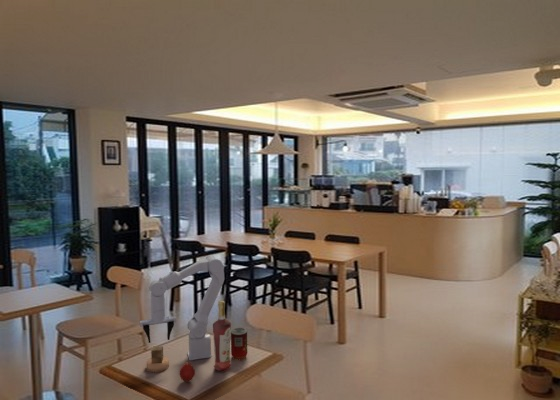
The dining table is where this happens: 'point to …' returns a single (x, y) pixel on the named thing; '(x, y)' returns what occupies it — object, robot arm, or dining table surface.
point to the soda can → (239, 343)
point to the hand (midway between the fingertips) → (159, 340)
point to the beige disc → (157, 365)
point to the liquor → (222, 340)
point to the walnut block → (157, 354)
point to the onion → (187, 372)
